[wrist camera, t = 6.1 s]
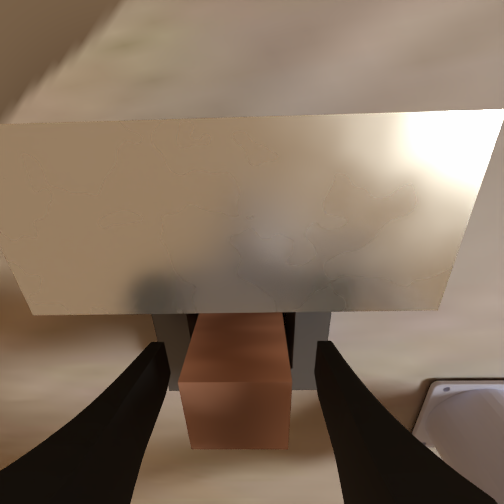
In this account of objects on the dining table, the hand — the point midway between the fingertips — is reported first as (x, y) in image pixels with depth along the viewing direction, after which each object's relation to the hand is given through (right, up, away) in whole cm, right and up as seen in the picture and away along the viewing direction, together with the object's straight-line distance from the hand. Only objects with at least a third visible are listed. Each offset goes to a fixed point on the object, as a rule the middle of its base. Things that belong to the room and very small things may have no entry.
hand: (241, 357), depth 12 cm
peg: (0, +2, +5) cm, 5 cm away
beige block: (0, +9, +2) cm, 9 cm away
